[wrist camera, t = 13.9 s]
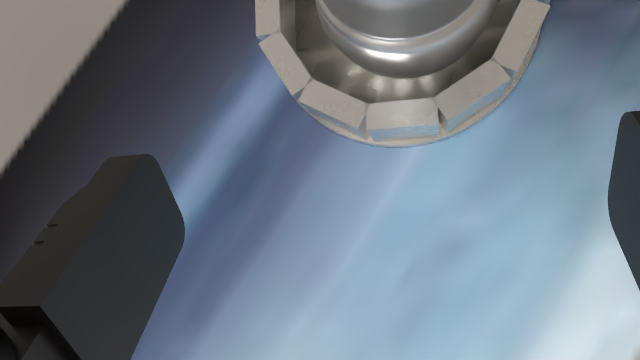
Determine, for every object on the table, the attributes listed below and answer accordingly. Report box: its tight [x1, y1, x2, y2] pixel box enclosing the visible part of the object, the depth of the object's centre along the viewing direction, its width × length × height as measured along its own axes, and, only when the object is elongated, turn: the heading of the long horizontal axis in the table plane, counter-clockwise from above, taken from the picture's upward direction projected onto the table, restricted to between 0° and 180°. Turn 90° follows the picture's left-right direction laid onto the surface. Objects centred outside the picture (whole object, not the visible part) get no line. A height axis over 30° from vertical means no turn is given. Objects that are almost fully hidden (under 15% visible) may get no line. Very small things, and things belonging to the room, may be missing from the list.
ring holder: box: [255, 0, 551, 148], centre depth 22 cm, size 11×11×3 cm
